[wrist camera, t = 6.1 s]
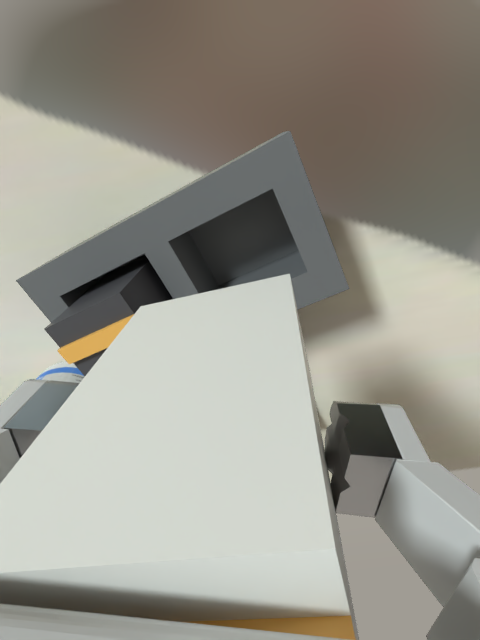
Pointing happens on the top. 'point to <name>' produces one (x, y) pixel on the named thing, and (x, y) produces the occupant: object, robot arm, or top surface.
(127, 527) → the white orange-striped block
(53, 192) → the top surface
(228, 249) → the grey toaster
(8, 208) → the top surface
